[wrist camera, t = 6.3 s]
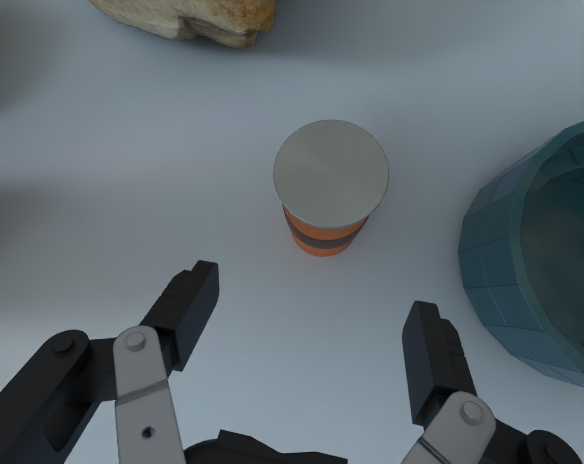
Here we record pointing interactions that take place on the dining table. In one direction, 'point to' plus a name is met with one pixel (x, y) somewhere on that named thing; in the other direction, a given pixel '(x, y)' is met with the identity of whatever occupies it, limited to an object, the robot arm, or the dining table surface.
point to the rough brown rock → (196, 18)
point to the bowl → (532, 257)
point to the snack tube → (329, 183)
